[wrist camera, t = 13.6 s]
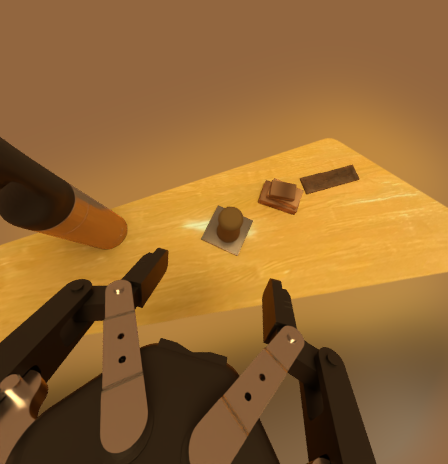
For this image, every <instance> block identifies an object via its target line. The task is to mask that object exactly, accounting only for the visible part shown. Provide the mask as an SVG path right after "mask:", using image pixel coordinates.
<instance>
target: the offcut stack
mask: <svg viewBox="0 0 448 464" xmlns="http://www.w3.org/2000/svg"><path fill="white" fill-rule="evenodd" d="M302 194H303V190H301V189H298V188H296V185H295V184H290V183H285V182H282V181H280V180H277V179H275V178H274V180H272V182H270V181H267V180H266V181H265V183H264V186H263V189H262V192H261V195H260V198H259V201H258V203H261V204H264V205H266V206H269V207H272V208H275V209H278V210H281V211H284V212H287V213H290V214H293V215H294V214H295V213H296V212H297V209H298V206H299V202H300V199H301V196H302Z"/></svg>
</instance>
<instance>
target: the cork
mask: <svg viewBox="0 0 448 464" xmlns="http://www.w3.org/2000/svg"><path fill="white" fill-rule="evenodd" d="M243 220H244V219H243V215H242V213H241V211H240V210H239V209H237V208H235V207H227V208H224V209H223V210H222V211H221V212H220V214H219V216H218V223H219V225H218V227H217V236H218V238H219V239H220V240H221V241H223V242H226V243H231V242H234V241H236V240H237V239H238V237H239V235H240V228H241V226H242V224H243Z"/></svg>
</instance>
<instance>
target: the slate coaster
mask: <svg viewBox="0 0 448 464" xmlns="http://www.w3.org/2000/svg"><path fill="white" fill-rule="evenodd" d="M223 209H224V208H223V207H221V206H218V207H217V209H216V211H215V213H214V214H213V216H212V218H211V220H210V222H209V224H208V226H207V228H206V230H205V232H204V234H203V236H202V238H201V239H202V240H204V241H206V242H208V243H210V244H212V245H215V246H217V247H219V248H221V249H223V250H225V251H228V252H230V253H232V254H234V255H236V256H238V254H239V252H240V249H241V247H242V245H243V242H244V240H245V238H246V236H247V233H248V231H249V229H250V227H251V224H252V222H253V220H250V219H248V218H246V217H243V219H244V220H243V224H242V226H241V228H240V235H239V237H238V239H237V240H236V241H234V242H231V243H226V242H223V241H221V240H220V239H219V238H218V236H217V227H218V225H219V223H218V216H219V214H220V212H221V211H222V210H223Z"/></svg>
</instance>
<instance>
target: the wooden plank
mask: <svg viewBox="0 0 448 464" xmlns="http://www.w3.org/2000/svg"><path fill="white" fill-rule="evenodd" d="M356 180H359V177H358V175H357V173H356V171H355V169H354V167H353V165H349V166H346V167H342V168H339V169H335V170H331V171H328V172H324V173H318V174H315V175H311V176H307V177H303V178H300V181H301V183H302V186H303V188H304V190H305V193H306V194H309V193H313V192H316V191H320V190H324V189H327V188H331V187H334V186H338V185H341V184H345V183H349V182H352V181H356Z"/></svg>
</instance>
